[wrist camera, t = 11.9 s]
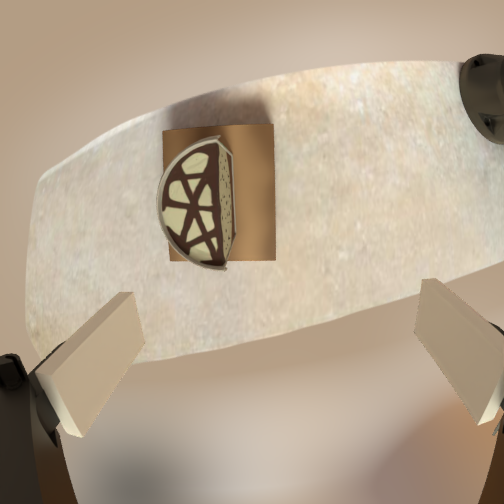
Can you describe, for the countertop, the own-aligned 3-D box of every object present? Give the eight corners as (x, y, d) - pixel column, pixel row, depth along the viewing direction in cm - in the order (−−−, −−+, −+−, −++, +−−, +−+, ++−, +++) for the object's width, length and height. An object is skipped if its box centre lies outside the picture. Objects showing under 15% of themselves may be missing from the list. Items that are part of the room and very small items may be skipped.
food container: (180, 145, 34) (146, 140, 24) (232, 141, 33) (216, 132, 24) (186, 248, 37) (158, 276, 27) (237, 247, 37) (223, 277, 27)
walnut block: (272, 129, 37) (273, 123, 33) (274, 249, 42) (275, 260, 37) (174, 135, 38) (162, 130, 33) (180, 250, 42) (170, 261, 37)
